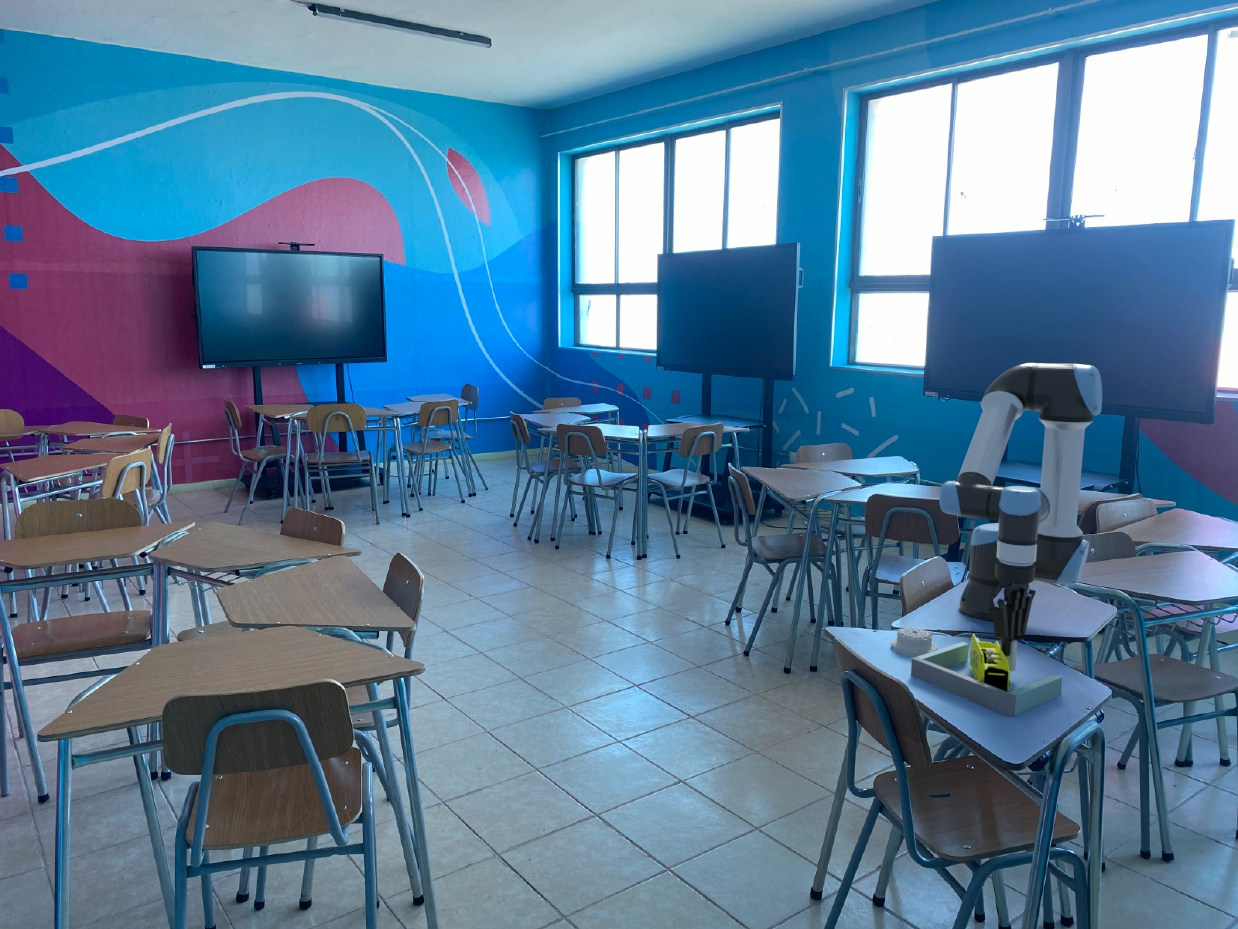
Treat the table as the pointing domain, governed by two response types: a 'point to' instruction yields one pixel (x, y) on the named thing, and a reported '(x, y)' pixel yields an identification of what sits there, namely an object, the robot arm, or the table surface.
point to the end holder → (1009, 704)
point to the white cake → (913, 642)
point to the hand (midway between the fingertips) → (1007, 668)
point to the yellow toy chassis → (989, 664)
